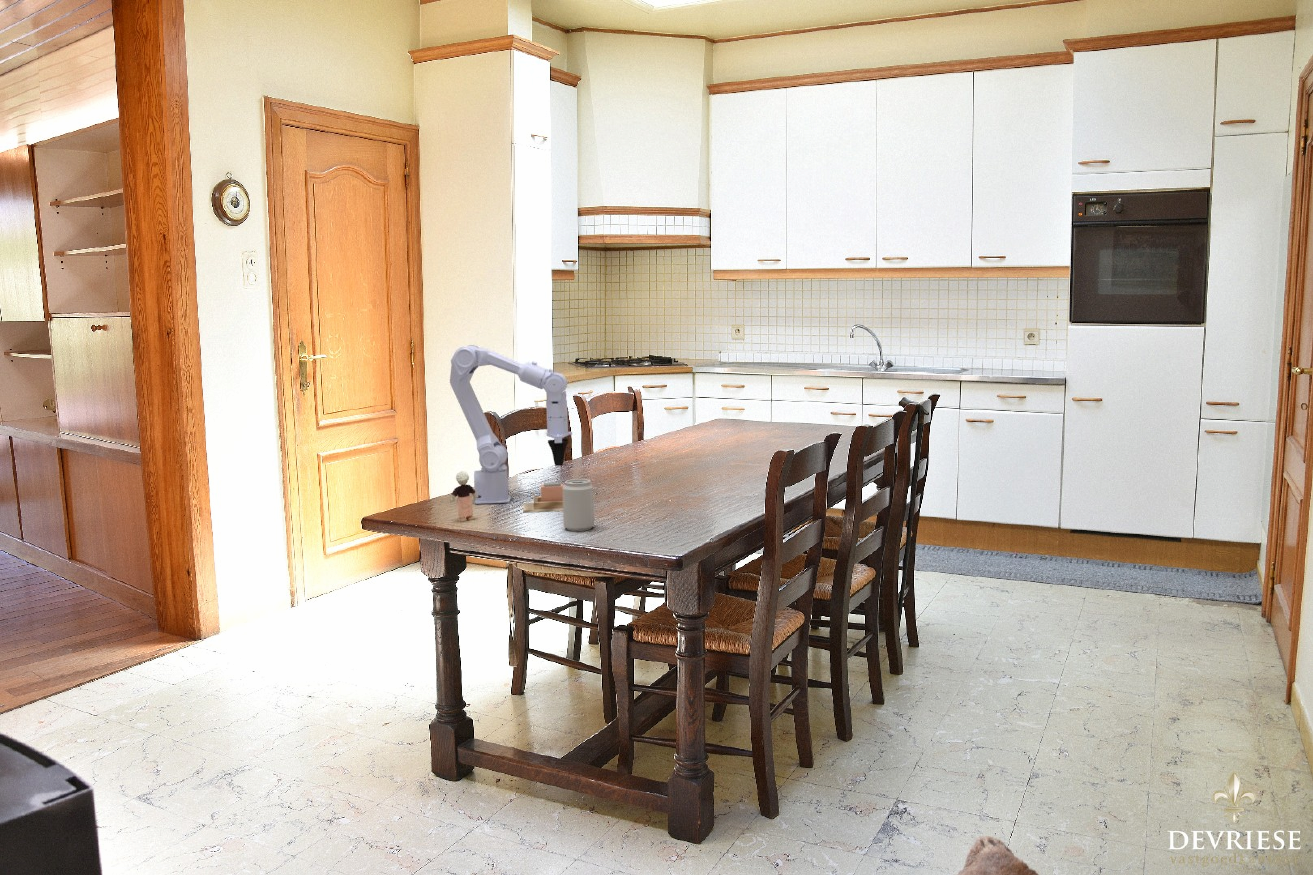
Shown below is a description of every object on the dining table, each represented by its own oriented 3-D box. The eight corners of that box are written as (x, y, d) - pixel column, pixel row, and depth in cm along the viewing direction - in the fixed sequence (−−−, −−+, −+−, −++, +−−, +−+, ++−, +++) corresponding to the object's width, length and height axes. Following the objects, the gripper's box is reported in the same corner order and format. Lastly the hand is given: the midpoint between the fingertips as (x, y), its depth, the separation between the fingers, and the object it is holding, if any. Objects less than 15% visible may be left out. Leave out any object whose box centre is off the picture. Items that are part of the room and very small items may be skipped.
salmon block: (541, 507, 274) (540, 485, 273) (541, 504, 278) (540, 482, 277) (564, 506, 275) (563, 484, 274) (563, 503, 279) (563, 481, 278)
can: (594, 524, 255) (593, 477, 254) (594, 531, 248) (592, 482, 246) (564, 525, 255) (562, 478, 254) (563, 532, 248) (561, 483, 246)
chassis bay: (523, 512, 271) (522, 503, 271) (523, 505, 280) (523, 497, 280) (583, 509, 273) (583, 500, 273) (582, 503, 282) (582, 494, 282)
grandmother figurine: (470, 516, 268) (468, 468, 267) (480, 518, 266) (478, 469, 264) (447, 521, 263) (445, 473, 261) (457, 523, 260) (454, 474, 258)
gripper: (572, 419, 277) (574, 468, 279) (570, 413, 291) (572, 460, 293) (546, 420, 276) (548, 470, 278) (545, 414, 290) (547, 461, 292)
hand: (558, 465), depth 285 cm, fingers closed
